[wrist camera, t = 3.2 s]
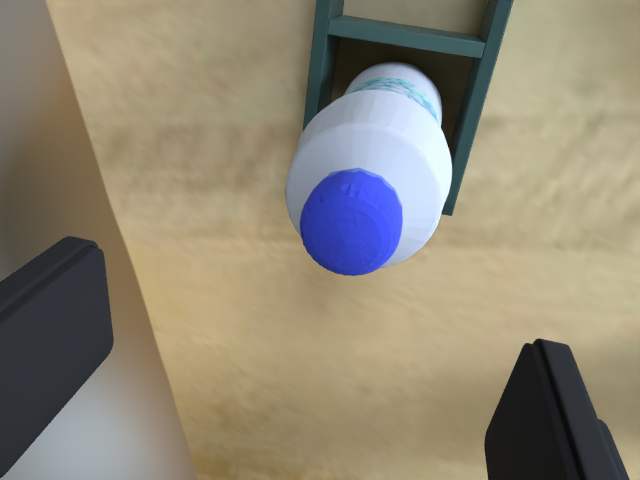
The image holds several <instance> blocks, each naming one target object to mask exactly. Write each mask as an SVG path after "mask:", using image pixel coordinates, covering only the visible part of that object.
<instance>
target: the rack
mask: <svg viewBox="0 0 640 480" xmlns="http://www.w3.org/2000/svg"><path fill="white" fill-rule="evenodd" d="M513 1H514V0H488V3H487V7H486V10H485V14H484V18H483V22H482V26H481V29H480V33H479V36H476V35H469V34H463V33H456V32H450V31H443V30H436V29H430V28H423V27H417V26H410V25H404V24H397V23H391V22H384V21H377V20H371V19H364V18H358V17H351V16H345V15H343V16H342V14H343V6H344V0H317V4H316V13H315V23H314V32H313V41H312V50H311V59H310V69H309V78H308V87H307V96H306V105H305V115H304V124H303V131H304V130H305V128H306V127H307V125H308V124H309V123H310V122H311V120H312V119H313V118H314V117H315V116H316V115H317V114H318V113H319V112H321V111H322V110H323V109H324V108H326V107H327V106H329V105H330V104H331V96H332V89H333V81H334V74H335V66H336V59H337V51H338V44H339V36H340V37H347V38H353V39H359V40H366V41H372V42H378V43H385V44H391V45H397V46H404V47H410V48H416V49H423V50H429V51H435V52H441V53H448V54H454V55H460V56H467V57H473V60H472V64H471V67H470V71H469V75H468V79H467V83H466V86H465V90H464V94H463V98H462V102H461V105H460V109H459V113H458V117H457V120H456V124H455V128H454V132H453V136H452V139H451V143H450V147H449V152H450V156H451V163H452V179H451V185H450V190H449V193H448V196H447V198H446V201H445V203H444V206H443V209H442V212H441V214H444V215H449V216H452V214H453V210H454V207H455V203H456V199H457V196H458V192H459V189H460V186H461V182H462V179H463V175H464V172H465V168H466V165H467V161H468V158H469V154H470V151H471V147H472V144H473V140H474V137H475V133H476V130H477V126H478V123H479V119H480V116H481V112H482V109H483V105H484V102H485V98H486V95H487V91H488V88H489V84H490V81H491V77H492V74H493V70H494V67H495V63H496V60H497V56H498V53H499V49H500V46H501V42H502V39H503V35H504V32H505V28H506V25H507V22H508V18H509V15H510V11H511V8H512V4H513Z"/></svg>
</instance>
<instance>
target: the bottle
mask: <svg viewBox="0 0 640 480" xmlns="http://www.w3.org/2000/svg"><path fill="white" fill-rule="evenodd" d="M441 122H442V103H441V97H440V94H439V92H438V90H437V88H436V86H435V85H434V83H433V82H432V80H431V79H430V78H429V77H428V76H427V75H426V74H425V73H424V72H423V71H422V70H421V69H420V68H418V67H416V66H414V65H412V64H409V63H402V62H382V63H378V64H375V65H373V66H371V67H369V68H368V69H366V70H365V71H363V72H362V73H360V74H359V75H358V76H357V77H356V78H355V79H354V80H353V81H352V83H351V84H350V86H349V87H348V88H347V90H346V92H345V94H344V96H343V97H341V98H339V99H337V100H335V101H334V102H333V103H331V104H330V105H329V106H327V107H326V108H324V109H323V110H322V111H321V112H319V113H318V114H317V115H316V116H315V117H314V118H313V119H312V120H311V122H310V123H309V124H308V125H307V127H306V128H305V130H304V131H303V133H302V135H301V137H300V139H299V142H298V145H297V148H296V152H295V155H294V158H293V161H292V163H291V166H290V169H289V172H288V175H287V181H286V188H285V193H286V205H287V208H288V212H289V216H290V218H291V220H292V222H293V224H294V227H295V229H296V231H297V232H298V233H299V235H300V236H301V238H302V240H303V245H304V246H305V248H306V250H307V252H308V253H309V254H310V255H311V257H312V258H313V260H315V261H316V262H317V263H318V264H319V265H321V266H322V267H324V268H326V269H327V270H330V271H332V272H334V273H338V274H342V275H352V276H355V275H363V274H367V273H370V272H373V271H374V270H376V269H378V268H384V267H388V266H391V265H394V264H397V263H399V262H401V261H403V260H405V259H407V258H409V257H410V256H412V255H413V254H414V253H416V252H417V251H418V250H420V249H421V247H422V246H423V245H424V244H425V243H426V242H427V241H428V240H429V238H430V237H431V236H432V234H433V232H434V230H435V229H436V227H437V225H438V222H439V219H440V215H441V212H442V209H443V206H444V203H445V201H446V198H447V196H448V193H449V190H450V185H451V179H452V163H451V156H450V152H449V148H448V146H447V142H446V139H445V137H444V134H443V131H442V130H441Z"/></svg>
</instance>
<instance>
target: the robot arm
mask: <svg viewBox="0 0 640 480" xmlns="http://www.w3.org/2000/svg"><path fill="white" fill-rule="evenodd" d="M112 346H113V331H112V323H111V313H110V304H109V295H108V287H107V278H106V268H105V259H104V253H103V251H102V250H101V249H99V248H98V246H97V244H96V243H95V242H94V241H90V240H86V239H81V238H77V237H72V236H68V237H65V238H63V239H62V240H60V241H59V242H57V243H56V244H55V245H53V246H52V247H50V248H49V249H47V250H46V251H45V252H43V253H42V254H40V255H39V256H37V257H36V258H34V259H33V260H31V261H30V262H29V263H27V264H26V265H24V266H23V267H22V268H20V269H18V270H17V271H16V272H14V273H13V274H11V275H10V276H9V277H7V278H6V279H4V280H3V281H1V282H0V478H1V477H3V476H4V475H5V474H6V473H7V472H8V471H9V469H10V468H11V467H12V466H13V465H14V464H15V463H16V461H17V460H18V459H19V458H20V457H21V456H22V454H23V453H24V452H25V451H26V450H27V448H29V446H30V445H31V444H32V443H33V442H34V441H35V439H36V438H37V437H38V436H39V435H40V433H42V431H43V430H44V429H45V428H46V427H47V426H48V424H49V423H50V422H51V421H52V420H53V419H54V417H55V416H56V415H57V414H58V413H59V412H60V411H61V409H62V408H63V407H64V406H65V405H66V404H67V402H68V401H69V400H70V399H71V398H72V397H73V395H74V394H75V393H76V392H77V391H78V390H79V389H80V387H81V386H82V385H83V384H84V383H85V382H86V381H87V379H88V378H89V377H90V376H91V375H92V374H93V372H94V371H95V370H96V369H97V368H98V367H99V366H100V364H101V363H102V362H103V361H104V360H105V359H106V357H107V356H108V355H109V353H110V351H111V349H112ZM484 446H485V456H486V464H487V473H488V480H630V479H629V477H628V475H627V472H626V470H625V467H624V465H623V462H622V460H621V457H620V455H619V453H618V450H617V448H616V445H615V443H614V440H613V438H612V435H611V433H610V431H609V429H608V427H607V425H606V424H605V423H604V422H603V421H602V420H600V419H598V418H597V415H596V413H595V410H594V408H593V405H592V403H591V400H590V397H589V395H588V392H587V390H586V387H585V385H584V382H583V380H582V377H581V375H580V372H579V369H578V367H577V364H576V362H575V359H574V357H573V354H572V352H571V349H570V347H569V346H568V345H566V344H562V343H557V342H553V341H548V340H544V339H536V340H535V341H534V343H533V344H529V343H526V344H525V345H524V346H523V348H522V350H521V352H520V355H519V357H518V359H517V362H516V364H515V366H514V369H513V371H512V373H511V375H510V378H509V380H508V382H507V385H506V387H505V389H504V392H503V394H502V396H501V399H500V401H499V403H498V406H497V408H496V410H495V413H494V415H493V417H492V419H491V422H490V424H489V426H488V429H487V431H486V435H485V444H484Z"/></svg>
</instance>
